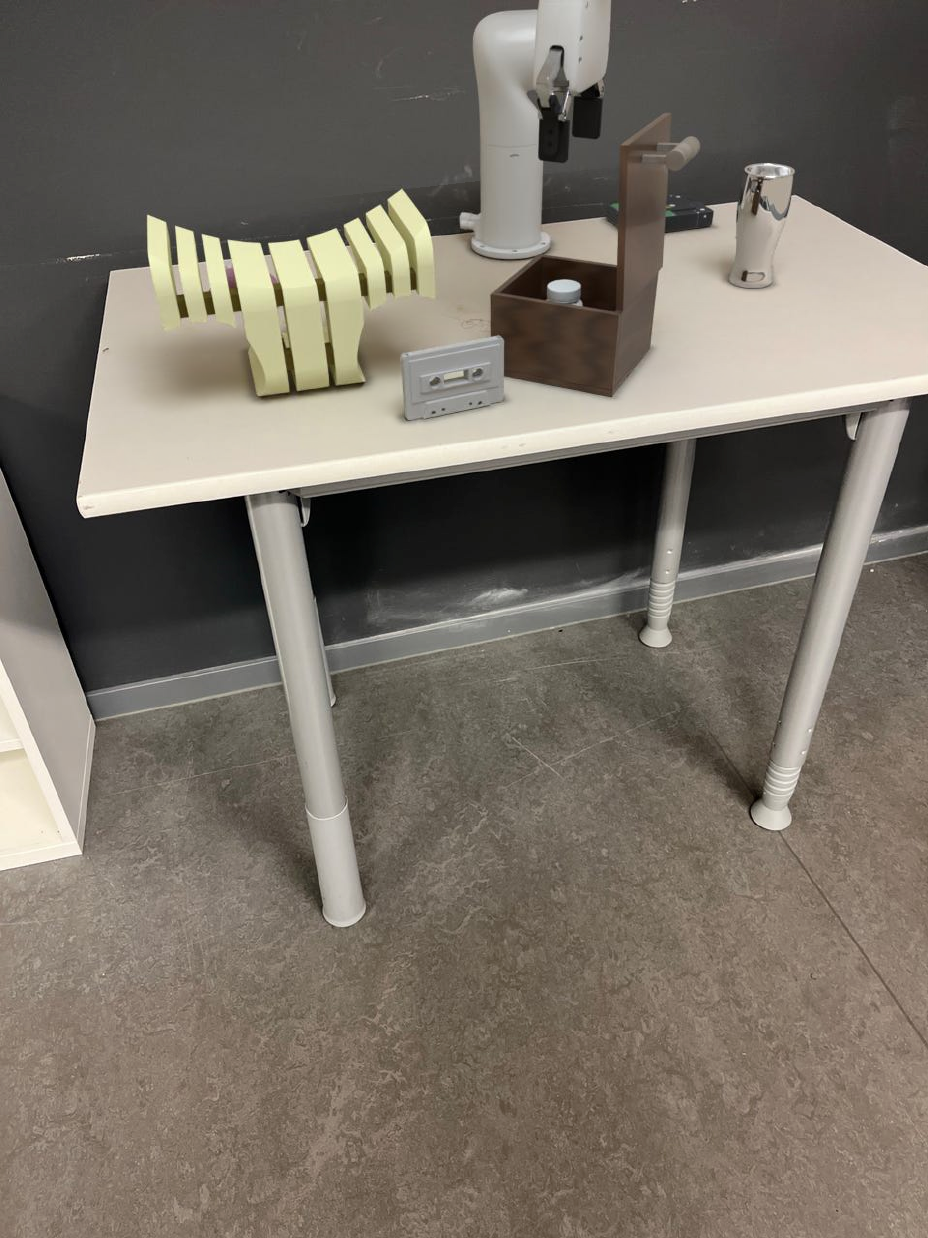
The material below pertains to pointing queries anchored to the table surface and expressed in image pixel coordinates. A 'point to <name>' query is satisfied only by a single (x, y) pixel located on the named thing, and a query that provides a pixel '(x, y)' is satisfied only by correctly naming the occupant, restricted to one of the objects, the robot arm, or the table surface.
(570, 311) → the chest
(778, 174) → the beer glass
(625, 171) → the lid
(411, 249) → the slatted curved stool
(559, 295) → the pill bottle
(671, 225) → the disk drive
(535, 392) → the table surface
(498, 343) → the cassette
